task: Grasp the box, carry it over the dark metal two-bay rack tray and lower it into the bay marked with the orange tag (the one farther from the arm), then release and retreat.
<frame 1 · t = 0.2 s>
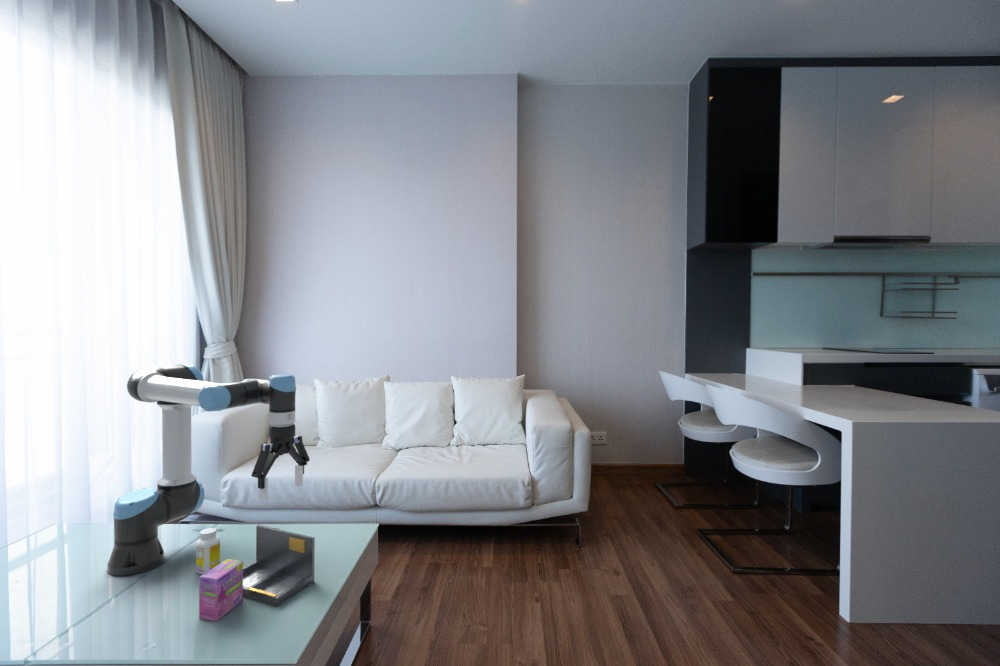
hand: (282, 491, 159), 28 cm above the table, fingers open, 13 cm apart
box: (221, 610, 142), on the table
rack: (267, 585, 155), on the table
supplement bottle: (208, 570, 164), on the table
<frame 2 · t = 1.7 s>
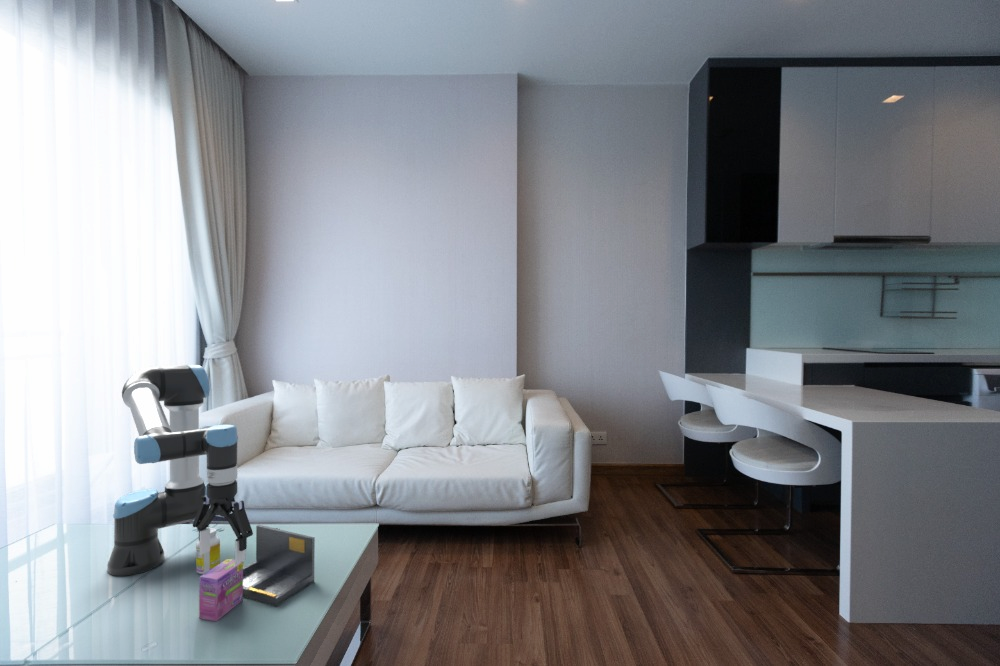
hand: (222, 557, 142), 15 cm above the table, fingers open, 13 cm apart
nothing on the table moved.
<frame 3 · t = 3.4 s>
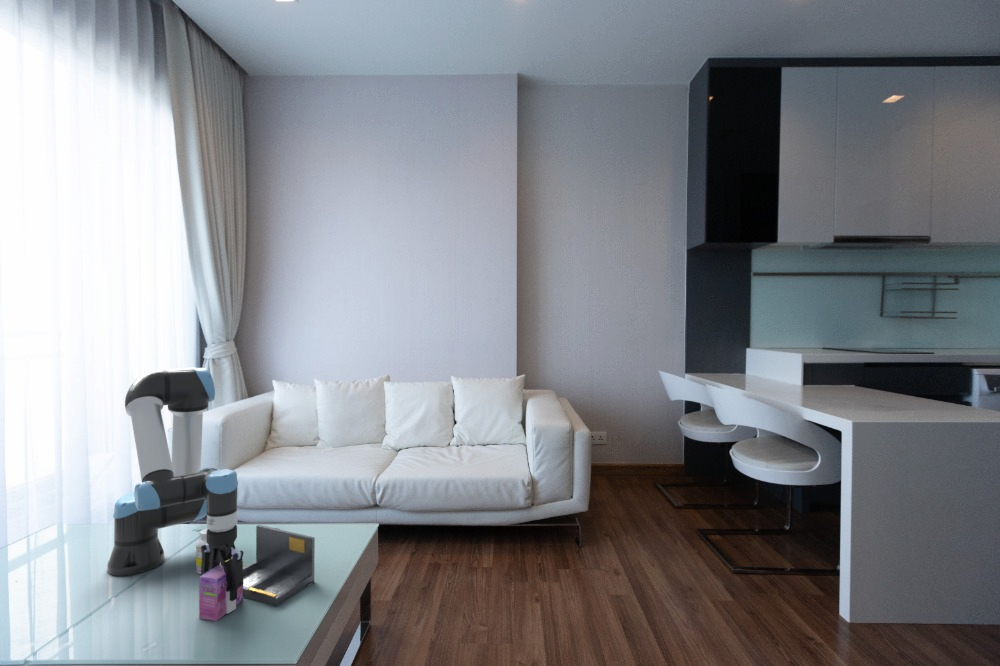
hand: (221, 607, 142), 0 cm above the table, fingers closed on box, 6 cm apart
box: (222, 610, 142), on the table, touching gripper
everything else where it was.
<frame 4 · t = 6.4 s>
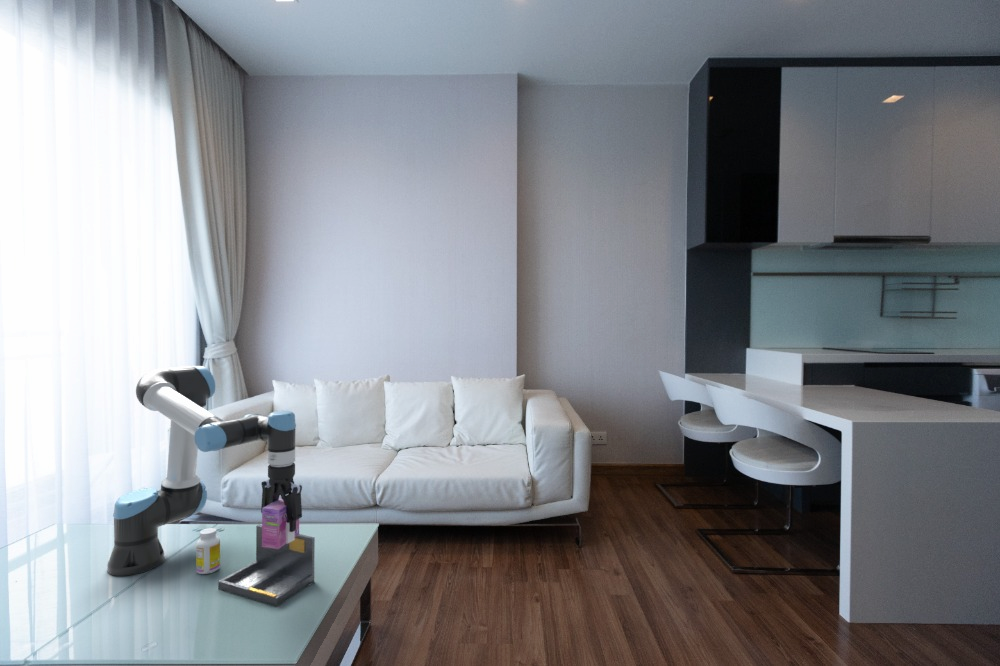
hand: (281, 539, 153), 15 cm above the table, fingers closed on box, 6 cm apart
box: (281, 541, 153), point 15 cm above the table, touching gripper
everything else where it was.
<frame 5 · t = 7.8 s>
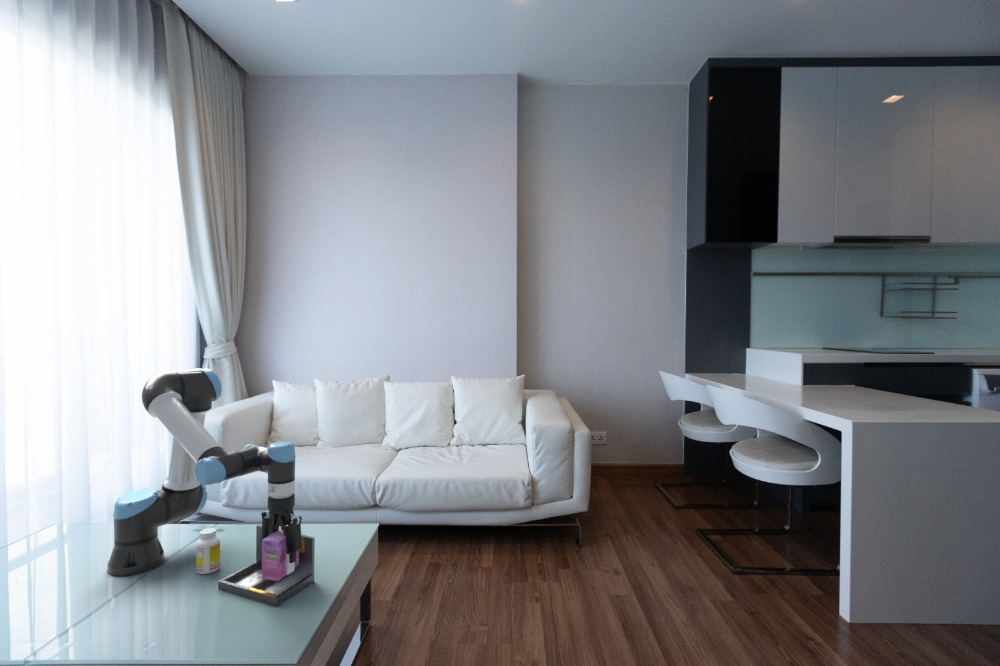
hand: (281, 570, 153), 6 cm above the table, fingers closed on box, 6 cm apart
box: (281, 572, 153), point 5 cm above the table, touching gripper
everything else where it was.
when the fingers open (3 cm above the table, at t = 9.2 s): box drops 2 cm, resting on rack.
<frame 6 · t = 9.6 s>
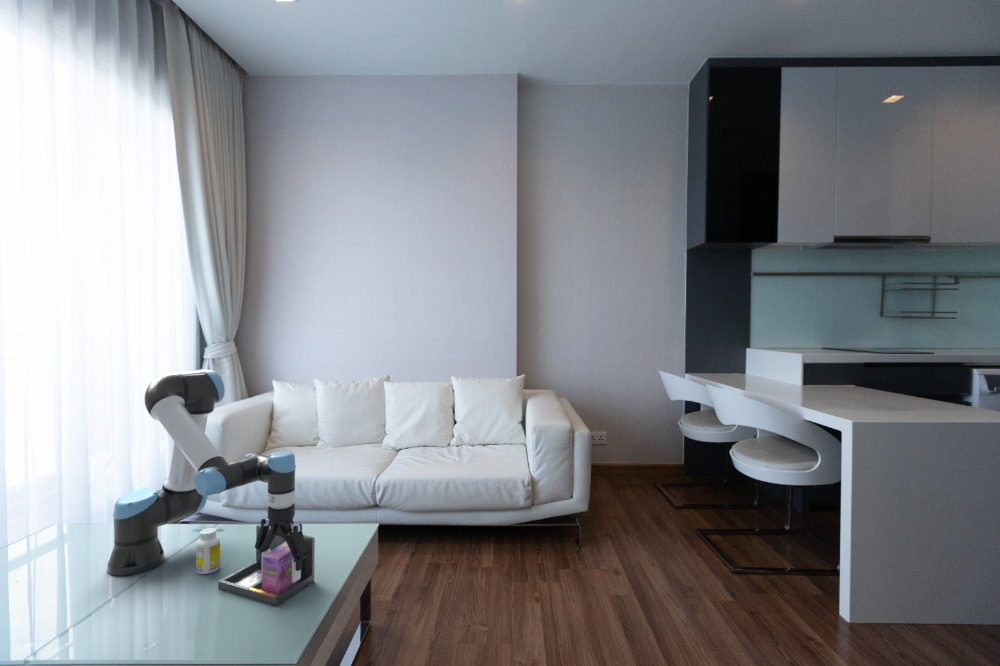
hand: (280, 576, 153), 4 cm above the table, fingers open, 11 cm apart
box: (281, 588, 153), resting on rack
everything else where it was.
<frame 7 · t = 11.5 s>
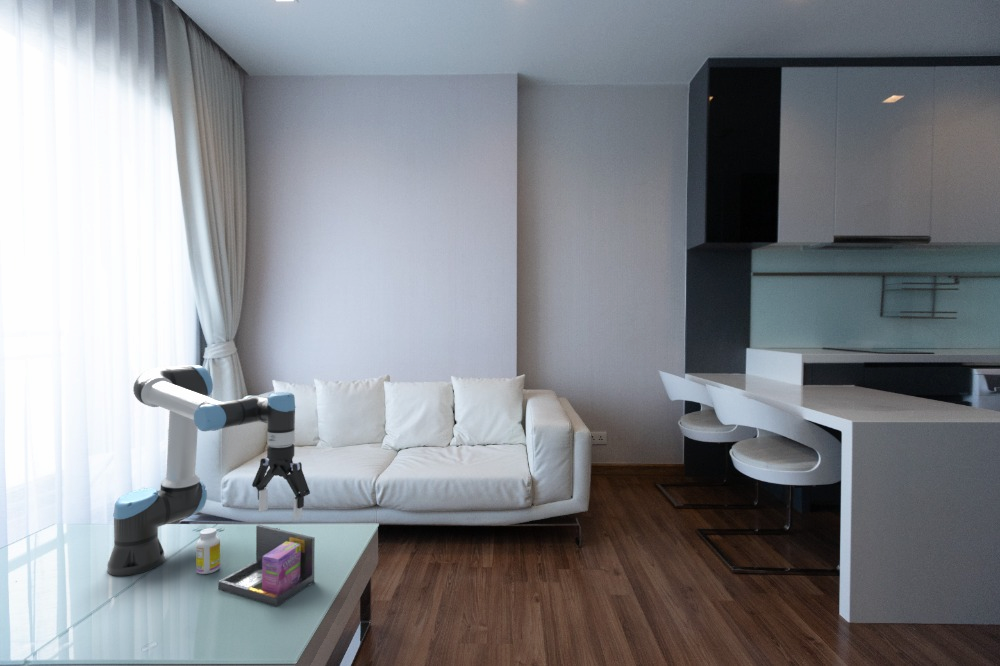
hand: (280, 514, 153), 23 cm above the table, fingers open, 13 cm apart
nothing on the table moved.
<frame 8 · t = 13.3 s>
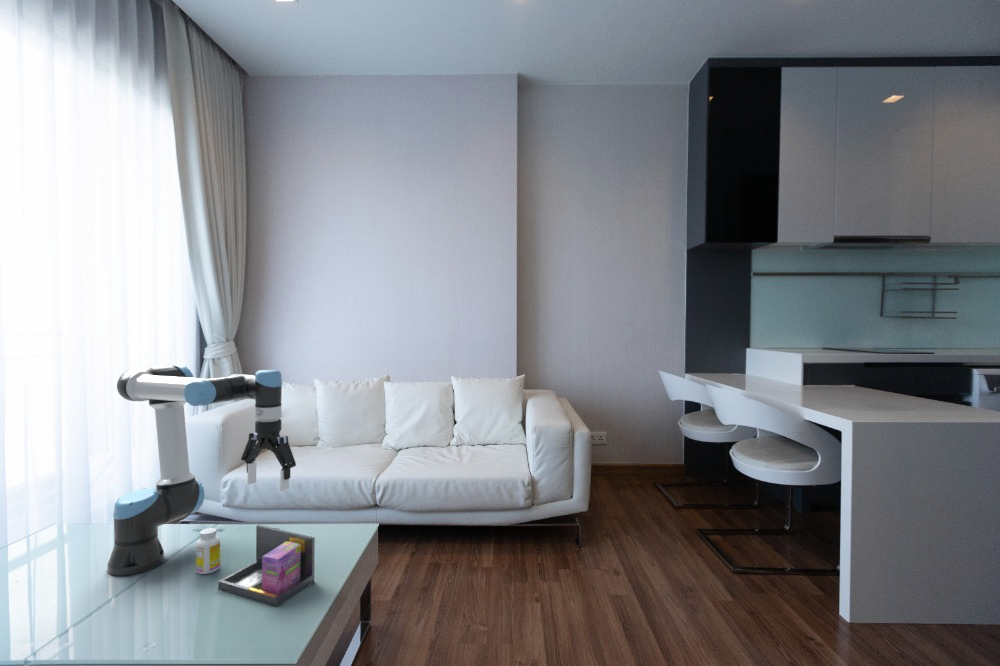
hand: (268, 486, 160), 29 cm above the table, fingers open, 13 cm apart
nothing on the table moved.
at the end: box inside the target area (0.4 cm from its centre), resting on rack; box tilted 0°; the gripper is holding nothing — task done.
